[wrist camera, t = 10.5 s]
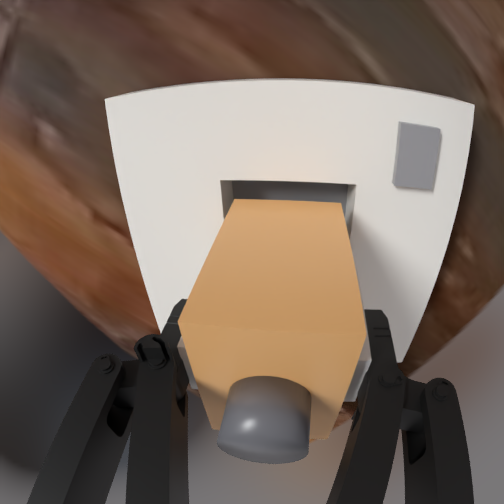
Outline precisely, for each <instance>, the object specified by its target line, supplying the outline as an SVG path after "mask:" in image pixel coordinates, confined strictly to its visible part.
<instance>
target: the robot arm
mask: <svg viewBox="0 0 504 504" xmlns="http://www.w3.org/2000/svg"><path fill="white" fill-rule="evenodd" d="M352 254H353V251H352ZM353 259H354V264H355V269H356V274H357V280H358V285H359V291H360V296H361V302H362V308H363V314H364V321H365V327H366V334H367V335H366V338H365V341H364V344H363V348H362V351H361V354H360V357H359V360H358V363H357V365H356V368H355V371H354V374H353V377H352V380H351V382H350V385H349V388H348V390H347V393H346V396H345V398H344V401H355V400H356V397H357V395H358V406H357V409H356V411H355V413H354V415H353V417H352V420H353V422H352V426H351V429H350V433H349V436H348V440H347V443H346V447H345V450H344V453H343V457H342V460H341V463H340V466H339V469H338V472H337V475H336V478H335V481H334V484H333V487H332V489H331V492H330V495H329V498H328V500H327V503H326V504H383V500H384V497H385V493H386V489H387V485H388V481H389V477H390V473H391V469H392V464H393V459H394V455H395V449H396V444H397V439H398V434H399V429H401V430H402V442H403V455H404V473H405V474H404V475H405V504H474V497H473V486H472V477H471V468H470V461H469V454H468V448H467V442H466V436H465V430H464V425H463V420H462V415H461V410H460V406H459V402H458V397H457V393H456V390H455V388H454V386H453V385H452V383H451V382H450V381H448V380H446V379H444V378H435V379H432V380H431V381H429V382H428V383H427V384H425V383H421V382H417V381H414V380H411V379H409V378H407V377H405V376H404V374H403V372H402V371H401V370H399V368H398V365H397V360H396V355H395V350H394V345H393V340H392V337H391V336H392V335H391V331H390V326H389V321H388V318H387V317H386V315H385V314H384V313H383V311H382V310H374V309H364V306H363V300H362V295H361V289H360V284H359V279H358V273H357V268H356V263H355V258H354V254H353ZM186 302H187V299H181V300H180V301H179V302H178V303H177V304H176V305H175V306H174V307H173V309H172V311H171V314H170V316H169V318H168V320H167V323H166V324H165V326H164V328H163V331H162V333H161V335H156V334H151V335H146V336H144V337H143V338H141V339H140V340H139V341H138V342H137V343H136V344H135V346H134V350H135V352H136V354H137V356H138V359H139V360H133V361H120V359H119V358H118V357H117V356H116V355H113V354H105V355H101V356H99V357H98V358H96V359H95V361H94V362H93V363H92V365H91V367H90V369H89V371H88V372H87V374H86V376H85V378H84V380H83V382H82V384H81V386H80V388H79V390H78V391H77V393H76V395H75V397H74V399H73V401H72V403H71V405H70V407H69V409H68V412H67V413H66V415H65V417H64V419H63V421H62V424H61V426H60V428H59V430H58V432H57V434H56V436H55V438H54V441H53V443H52V445H51V447H50V449H49V452H48V454H47V456H46V458H45V461H44V463H43V465H42V468H41V470H40V472H39V475H38V477H37V480H36V482H35V484H34V487H33V489H32V492H31V495H30V497H29V500H28V503H27V504H105V502H106V499H107V496H108V493H109V490H110V487H111V484H112V482H113V479H114V476H115V473H116V470H117V467H118V464H119V462H120V459H121V456H122V453H123V451H124V448H125V445H126V442H127V440H128V437H129V435H130V432H131V436H130V447H129V459H128V472H127V486H126V504H189V493H188V492H189V489H188V395H187V391H186V389H187V386H188V383H190V386H191V388H193V389H198V387H197V384H196V380H195V377H194V374H193V371H192V368H191V365H190V362H189V358H188V355H187V352H186V349H185V345H184V342H183V338H182V335H181V332H180V328H179V325H178V320H179V317H180V315H181V313H182V311H183V308H184V306H185V304H186Z"/></svg>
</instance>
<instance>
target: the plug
mask: <svg viewBox="0 0 504 504" xmlns="http://www.w3.org/2000/svg"><path fill="white" fill-rule="evenodd" d="M178 325H179V328H180V332H181V335H182V338H183V342H184V345H185V349H186V352H187V355H188V358H189V362H190V365H191V368H192V371H193V374H194V377H195V380H196V384H197V387H198V390H199V393H200V395H201V398H202V401H203V404H204V407H205V410H206V413H207V415H208V418H209V421H210V424H211V427H212V429H215V430H220V431H219V435H218V440H217V445H218V447H219V448H220V449H221V450H223V451H224V452H226V453H227V454H229V455H232V456H234V457H237V458H240V459H243V460H247V461H252V462H259V463H268V464H280V463H290V462H295V461H298V460H301V459H303V458H304V457H306V456H307V455H308V449H309V448H308V447H309V439H328V437H329V435H330V433H331V430H332V428H333V426H334V423H335V421H336V418H337V416H338V413H339V411H340V408H341V406H342V403H343V401H344V398H345V396H346V393H347V390H348V388H349V385H350V382H351V380H352V377H353V374H354V371H355V368H356V365H357V363H358V360H359V357H360V354H361V351H362V348H363V344H364V341H365V338H366V335H367V334H366V327H365V321H364V314H363V308H362V302H361V296H360V291H359V285H358V280H357V274H356V269H355V264H354V259H353V254H352V249H351V245H350V240H349V235H348V231H347V226H346V222H345V218H344V214H343V209H342V205H341V203H334V202H314V201H291V200H260V199H234V201H233V203H232V205H231V207H230V209H229V211H228V213H227V215H226V217H225V219H224V222H223V224H222V226H221V228H220V230H219V232H218V234H217V236H216V238H215V241H214V243H213V245H212V247H211V249H210V251H209V253H208V256H207V258H206V260H205V262H204V264H203V266H202V268H201V271H200V273H199V275H198V277H197V279H196V282H195V284H194V286H193V288H192V290H191V293H190V295H189V297H188V299H187V302H186V304H185V306H184V308H183V311H182V313H181V315H180V317H179V320H178Z"/></svg>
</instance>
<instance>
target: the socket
mask: <svg viewBox="0 0 504 504" xmlns="http://www.w3.org/2000/svg"><path fill="white" fill-rule="evenodd" d="M105 105H106V112H107V119H108V126H109V132H110V138H111V144H112V150H113V155H114V161H115V166H116V171H117V176H118V181H119V185H120V190H121V195H122V199H123V204H124V208H125V212H126V216H127V221H128V225H129V229H130V233H131V236H132V240H133V244H134V248H135V251H136V255H137V259H138V262H139V266H140V269H141V273H142V276H143V280H144V283H145V286H146V289H147V293H148V296H149V299H150V302H151V305H152V308H153V311H154V314H155V317H156V320H157V323H158V326H159V329H160V332H161V333H162V331H163V328H164V326H165V324H166V323H167V320H168V318H169V316H170V314H171V311H172V309H173V307H174V306H175V305H176V304H177V303H178V302H179V301H180V300H181V299H188V297H189V295H190V293H191V290H192V288H193V286H194V284H195V282H196V279H197V277H198V275H199V273H200V271H201V268H202V266H203V264H204V262H205V260H206V258H207V256H208V253H209V251H210V249H211V247H212V245H213V243H214V241H215V238H216V236H217V234H218V232H219V230H220V228H221V226H222V224H223V222H224V219H225V217H226V215H227V213H228V211H229V209H230V207H231V205H232V203H233V201H234V199H260V200H291V201H314V202H334V203H341V205H342V209H343V214H344V218H345V222H346V226H347V231H348V235H349V240H350V245H351V249H352V251H353V254H354V258H355V263H356V268H357V273H358V279H359V284H360V289H361V295H362V300H363V306H364V309H374V310H382V311H383V313H384V314H385V315H386V317H387V318H388V321H389V326H390V331H391V335H392V336H391V337H392V340H393V345H394V350H395V355H396V360H397V362H402V361H403V359H404V357H405V354H406V352H407V350H408V348H409V346H410V344H411V341H412V339H413V337H414V335H415V332H416V330H417V328H418V325H419V323H420V321H421V318H422V316H423V313H424V311H425V308H426V306H427V303H428V301H429V298H430V295H431V293H432V290H433V287H434V285H435V282H436V279H437V276H438V273H439V270H440V267H441V264H442V261H443V258H444V255H445V252H446V248H447V245H448V242H449V238H450V235H451V231H452V227H453V224H454V220H455V216H456V212H457V208H458V204H459V200H460V195H461V191H462V186H463V181H464V176H465V171H466V166H467V160H468V154H469V148H470V141H471V134H472V126H473V117H474V107H475V105H473V104H470V103H467V102H464V101H461V100H458V99H454V98H451V97H447V96H443V95H438V94H433V93H428V92H423V91H418V90H412V89H406V88H400V87H393V86H386V85H379V84H370V83H361V82H351V81H339V80H323V79H295V78H265V79H237V80H221V81H208V82H198V83H189V84H180V85H172V86H165V87H158V88H152V89H146V90H140V91H135V92H130V93H126V94H122V95H118V96H114V97H111V98H107V99H105Z"/></svg>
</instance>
